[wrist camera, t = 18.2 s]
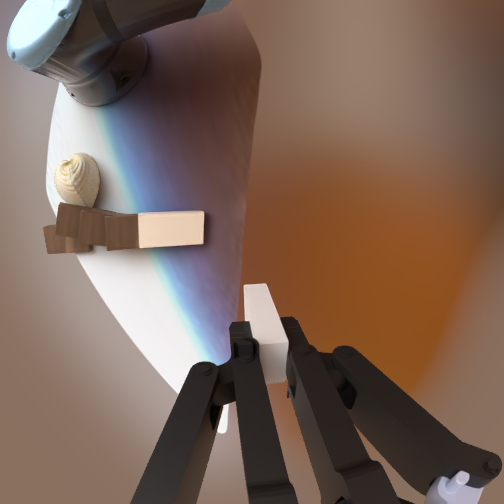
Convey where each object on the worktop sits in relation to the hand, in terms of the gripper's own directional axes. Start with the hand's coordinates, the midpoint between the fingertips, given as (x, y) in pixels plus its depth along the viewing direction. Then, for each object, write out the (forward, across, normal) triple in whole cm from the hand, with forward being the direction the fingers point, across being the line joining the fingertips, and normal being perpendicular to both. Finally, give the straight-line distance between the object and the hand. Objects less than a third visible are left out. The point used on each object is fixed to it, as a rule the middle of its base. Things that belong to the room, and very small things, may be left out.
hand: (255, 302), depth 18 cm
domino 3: (+26, -16, 0) cm, 30 cm away
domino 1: (+26, -20, +1) cm, 33 cm away
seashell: (+27, -26, +9) cm, 38 cm away
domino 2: (+26, -25, -1) cm, 36 cm away
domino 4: (+26, -11, 0) cm, 28 cm away
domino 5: (+26, -5, 0) cm, 26 cm away
